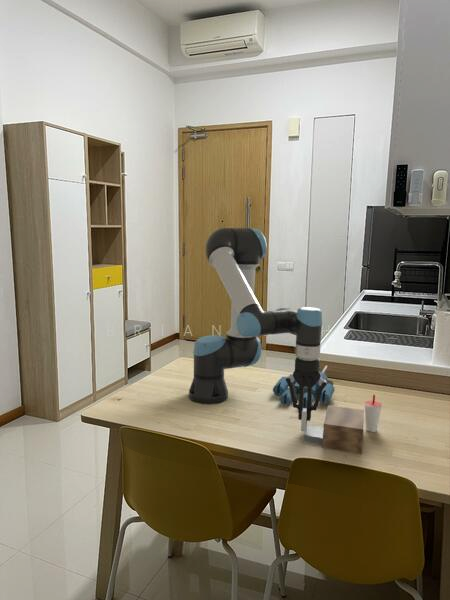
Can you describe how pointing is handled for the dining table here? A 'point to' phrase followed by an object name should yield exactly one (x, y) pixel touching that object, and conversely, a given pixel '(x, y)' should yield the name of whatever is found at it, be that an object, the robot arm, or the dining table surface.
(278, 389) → the toy
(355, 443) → the brown wooden block
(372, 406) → the cup
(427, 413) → the dining table surface
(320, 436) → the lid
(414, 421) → the dining table surface
